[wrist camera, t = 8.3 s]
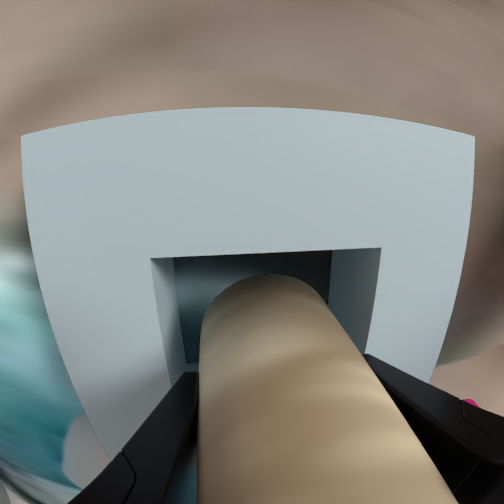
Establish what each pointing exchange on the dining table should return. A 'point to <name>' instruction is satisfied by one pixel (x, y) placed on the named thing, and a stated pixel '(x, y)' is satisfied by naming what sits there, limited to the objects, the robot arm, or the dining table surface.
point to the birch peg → (298, 408)
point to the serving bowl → (3, 495)
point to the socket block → (238, 233)
